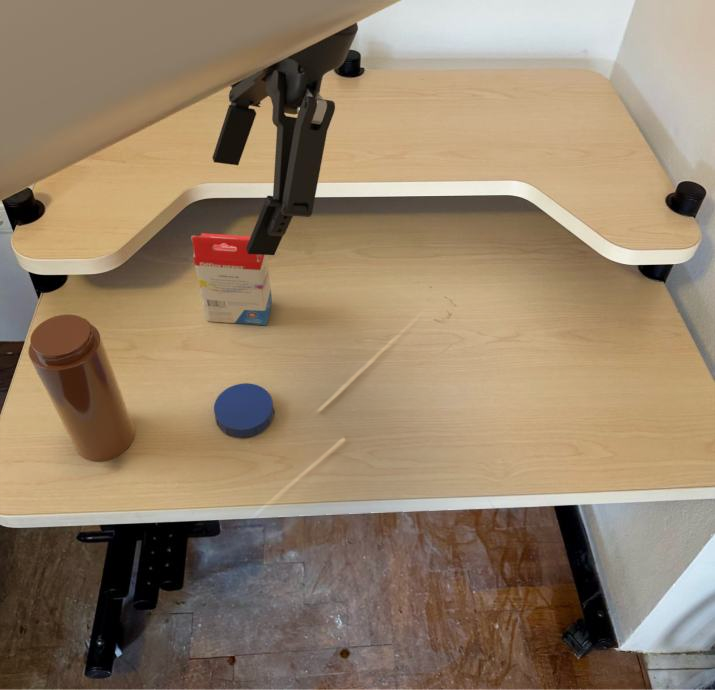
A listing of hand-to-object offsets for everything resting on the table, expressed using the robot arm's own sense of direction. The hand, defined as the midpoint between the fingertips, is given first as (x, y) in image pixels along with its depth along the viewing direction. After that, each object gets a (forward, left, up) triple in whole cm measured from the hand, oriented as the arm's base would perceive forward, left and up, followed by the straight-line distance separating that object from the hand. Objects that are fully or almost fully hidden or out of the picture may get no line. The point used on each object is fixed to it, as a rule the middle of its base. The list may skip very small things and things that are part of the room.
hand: (241, 204), depth 68 cm
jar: (-20, +5, -25) cm, 32 cm away
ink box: (+5, +10, -25) cm, 28 cm away
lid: (-6, -4, -24) cm, 25 cm away
